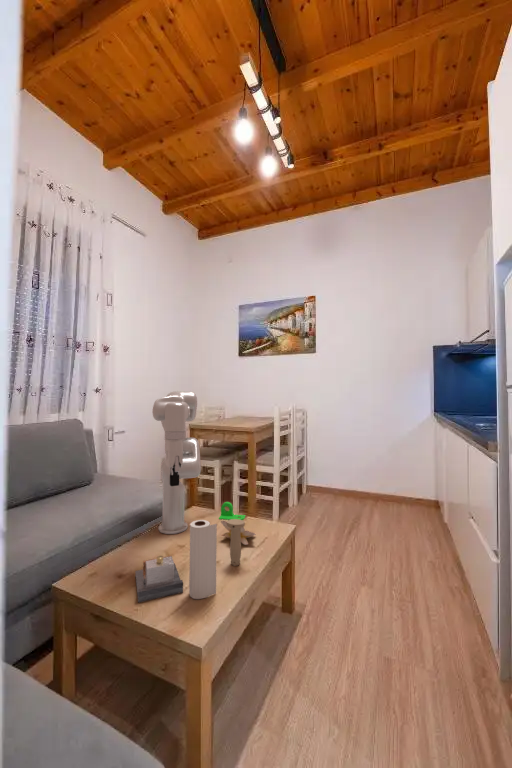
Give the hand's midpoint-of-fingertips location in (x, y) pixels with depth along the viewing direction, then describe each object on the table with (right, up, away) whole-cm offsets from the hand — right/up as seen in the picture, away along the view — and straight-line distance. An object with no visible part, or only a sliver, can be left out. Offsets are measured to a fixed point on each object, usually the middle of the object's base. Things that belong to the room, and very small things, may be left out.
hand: (174, 485), depth 121 cm
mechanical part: (+19, -29, +37) cm, 50 cm away
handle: (+23, -27, -4) cm, 36 cm away
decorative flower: (+24, -28, +14) cm, 39 cm away
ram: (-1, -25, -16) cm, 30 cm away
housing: (0, -25, -20) cm, 32 cm away
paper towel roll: (+14, -27, -22) cm, 37 cm away
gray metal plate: (-1, -27, -17) cm, 31 cm away
